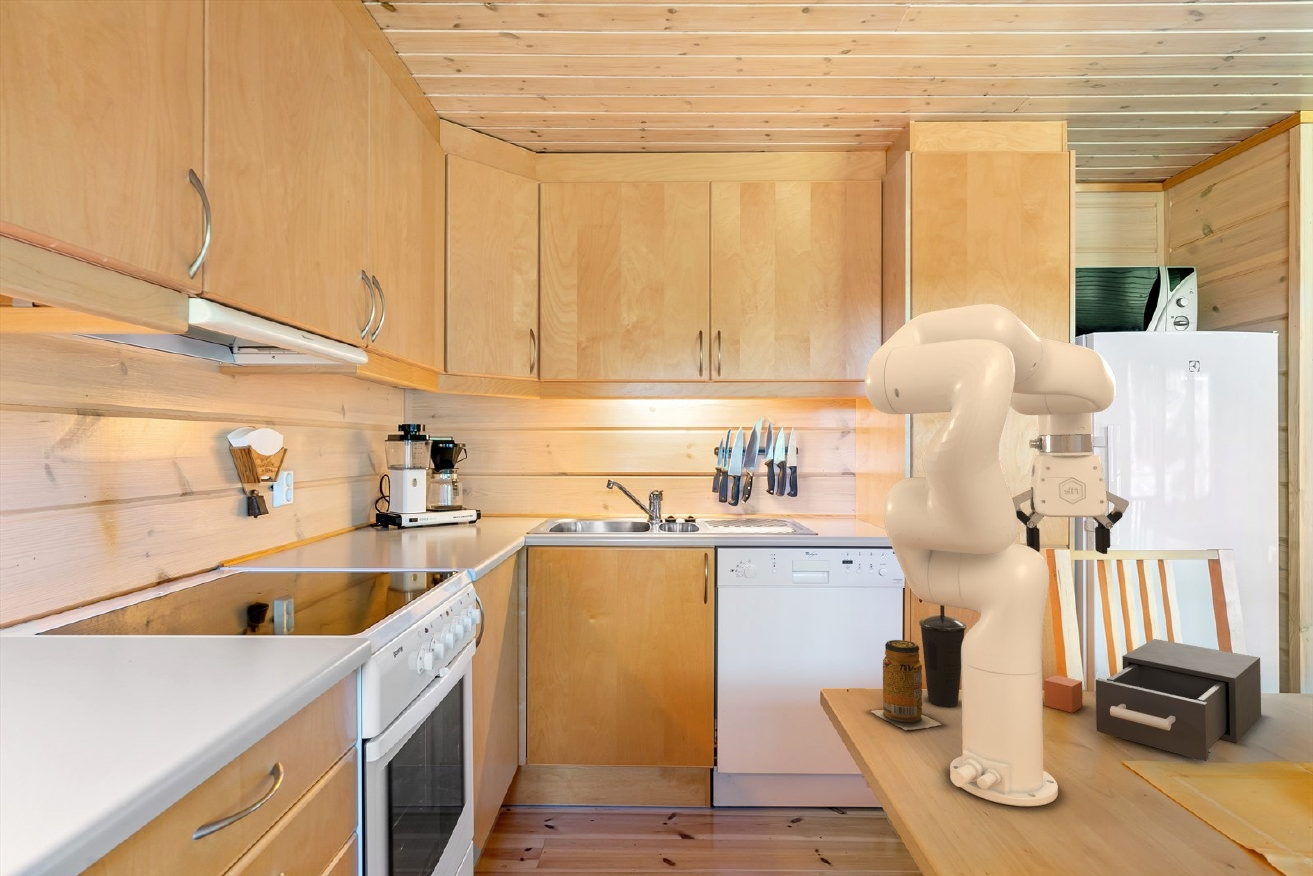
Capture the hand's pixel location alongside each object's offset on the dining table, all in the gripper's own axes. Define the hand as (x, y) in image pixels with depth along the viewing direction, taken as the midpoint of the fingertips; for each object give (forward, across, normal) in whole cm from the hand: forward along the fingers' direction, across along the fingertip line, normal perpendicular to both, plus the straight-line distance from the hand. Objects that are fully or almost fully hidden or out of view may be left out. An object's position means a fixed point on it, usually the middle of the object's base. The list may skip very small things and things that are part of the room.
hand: (1067, 552), depth 111 cm
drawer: (+26, +10, -6) cm, 29 cm away
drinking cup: (+27, -19, +4) cm, 33 cm away
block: (+27, +1, +7) cm, 28 cm away
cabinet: (+28, +20, +7) cm, 35 cm away
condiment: (+27, -26, -6) cm, 38 cm away
